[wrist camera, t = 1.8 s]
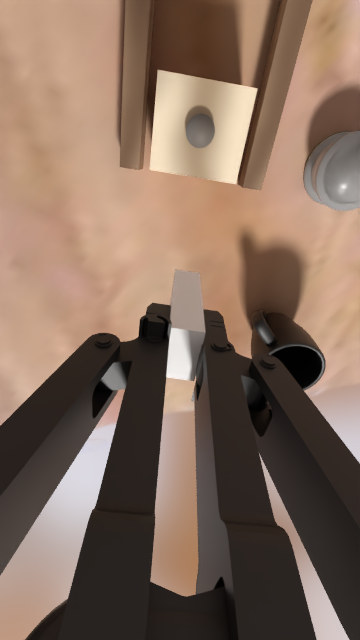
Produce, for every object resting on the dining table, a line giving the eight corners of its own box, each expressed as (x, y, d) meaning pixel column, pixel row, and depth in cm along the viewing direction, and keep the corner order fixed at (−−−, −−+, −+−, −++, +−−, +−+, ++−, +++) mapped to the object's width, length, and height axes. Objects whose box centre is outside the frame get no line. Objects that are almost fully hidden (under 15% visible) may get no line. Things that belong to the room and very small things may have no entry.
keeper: (156, 165, 32) (148, 170, 25) (163, 86, 28) (157, 67, 22) (226, 177, 32) (236, 184, 26) (242, 100, 29) (259, 87, 22)
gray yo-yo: (293, 199, 34) (306, 205, 30) (318, 126, 30) (335, 123, 27) (352, 208, 34) (370, 215, 31) (382, 138, 30) (408, 137, 27)
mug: (274, 272, 38) (297, 306, 30) (307, 334, 43) (336, 378, 35) (220, 303, 41) (229, 341, 33) (258, 358, 46) (274, 403, 38)
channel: (125, 165, 32) (115, 167, 28) (141, -224, 20) (129, -327, 16) (255, 187, 33) (265, 193, 29) (348, -173, 21) (390, -256, 16)
